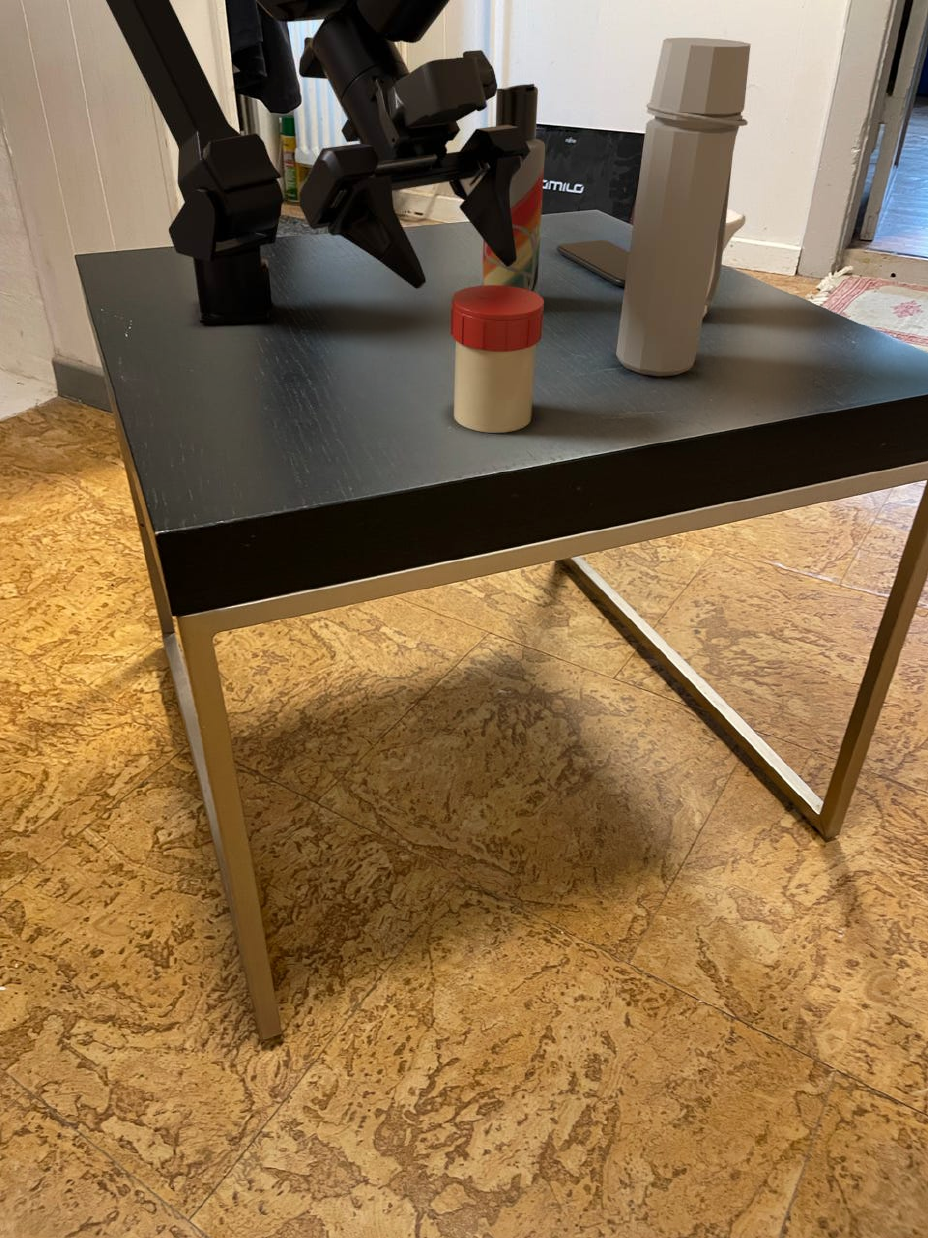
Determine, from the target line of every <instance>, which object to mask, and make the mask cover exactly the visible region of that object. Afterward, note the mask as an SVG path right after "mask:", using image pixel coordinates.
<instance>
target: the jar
mask: <svg viewBox="0 0 928 1238" xmlns="http://www.w3.org/2000/svg"><path fill="white" fill-rule="evenodd" d="M454 343H455V349H454V351H455V352H454V384H453V385H454V388H453V389H454V390H453V417H454V420H455V421H456V422H457V424H459V425H460V426H462V427H464V428H466V429H469V430H473V431H475V432H480V433H487V434H488V433H489V434H502V433H504V434H505V433H509V432H515V431H518V430H521V429H523V428H525V427H526V426H527V425H529V424H530V422H531V420H532V412H533V411H532V410H533V399H534V398H533V397H534V385H535V372H536V359H537V358H536V357H537V348H538V347H537V345H538V343H537V344H535V345H533V346H531V347H529V348H525V349H520V350H516V351H488V350H480V349H475V348H471V347H468V346H465V345H463V344H461V343H459V342H457V341H456V340H455V342H454Z"/></svg>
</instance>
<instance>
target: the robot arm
mask: <svg viewBox="0 0 928 1238" xmlns="http://www.w3.org/2000/svg"><path fill="white" fill-rule="evenodd" d="M450 1H451V0H256V2H257V3H258V4H259V5H260V6H261V8H262V9H263V10H264V11H265V12H266V13H267V14H268V15H269V16H270V17H271V18H272V19H274V20H277V21H278V22H281V23H294V22H295V23H296V22H306V21H307V22H308V21H321V20H322V22H321V23H320V25H319V27H318V29H317V30H316V31H315V33H314V35H313V36H312V37H309V36H307V37H305V38H304V40H303V43H304V44H303V46H304V47H303V51H302V55H301V56H300V59H299V64H298V65H299V66H298V74H299V76H300V77H301V78H306V79H307V78H308V79H321V80H327V82H328V83H329V85H330V87H331V89H332V91H333V93H334V96H335V97H336V99H337V101H338V103H339V105H340V107H341V109H342V111H343V113H344V115H345V117H346V121H345V123H344V125H343V127H342V128H341V133H342V135H343V137H344V139H345V141H346V143H352V144H346V145H337V146H330V147H322V148H321V150H320V152H319V154H318V155H317V157H316V159H315V161H314V164H313V165H312V167H311V169H310V171H309V172H308V174H307V176H306V178H305V180H304V182H303V183H302V186H301V188H300V190H299V193H298V197H299V198H298V199H299V207H300V210H301V212H302V213H303V216H304V218H305V220H306V221H307V223H308V225H309V227H310V228H311V229H313V230H317V229H323V228H327V231H328V233H329V234H330V236H333V237H335V236H340V237H342V238H344V239H345V240H347V241H348V242H350V243H352V244H353V245H355V246H356V247H358V248H359V249H361V250H363V251H364V252H365V253H367V254H369V255H370V256H372V257H373V258H375V259H376V260H377V261H379V262H380V263H381V264H383V266H385V267H387V269H389V270H390V271H392V272H393V273H394V274H395V275H397V276H398V277H399V278H401V279H403V280H404V281H405V282H406V283H408V285H410V286H411V287H413V288H414V289H416V290H418V289H421V288H422V287H423V286H424V285H425V284H426V281H427V279H426V278H427V277H426V276H425V272H424V270H423V267H422V265H421V262H420V260H419V258H418V255H417V254H416V251H415V250H414V248H413V245H412V243H411V241H410V239H409V237H408V235H407V234H406V230H405V229H404V227H403V224H402V223H401V221H400V218H399V216H398V214H397V213H396V210H395V207H394V200H393V199H394V198H393V191H397V190H399V191H401V190H407V189H412V188H420V187H424V186H426V187H427V186H430V185H431V186H432V185H437V184H443V183H448V184H449V186H450V188H451V190H452V191H453V193H454V195H455V196H457V197H458V198H460V199H461V200H463V201H462V203H461V204H460V205H459V209H460V211H461V212H462V213H463V214H464V216H465V217H466V219H467V220H468V221H469V222H470V224H471V225H472V226H473V227H474V229H475V230H476V231H477V233H478V234H479V236H480V237H481V238H482V240H483V239H484V241H485V242H486V243H487V244H488V246H489V247H490V248H491V250H492V251H493V252H494V254H495V255H496V256H497V257H498V258H499V259H500V260H501V261H502V263H503V264H504V265H505V266H506V267H509V266H512V265H513V263H514V262H515V261H516V260H517V255H516V247H515V240H514V232H513V225H512V217H511V209H510V184H511V180H512V177H513V176H514V175H515V174H516V172H517V171H518V170H519V169H520V167H521V163H522V161H523V160H524V159H525V158H526V157H527V155H528V154H529V153H530V149H529V147H528V145H527V143H526V141H525V139H524V137H523V135H522V133H521V131H520V129H519V127H515V126H510V125H502V126H496V125H494V126H487V127H480V128H475V129H474V130H473V132H472V133H471V135H470V136H469V137H468V138H467V140H466V142H465V143H464V144H463V146H462V147H461V148H460V150H459V151H452V152H448V147H447V144H448V142H451V141H454V140H455V138H457V136H458V134H459V133H460V131H461V127H460V126H459V123H458V121H460V120H462V119H463V118H465V117H468V116H470V115H471V114H472V113H474V112H476V111H477V112H481V111H483V110H485V109H486V108H487V107H488V103H487V101H488V100H491V99H492V98H494V97H495V96H496V94H497V89H498V83H497V77H496V72H495V70H494V67H493V65H492V64H491V62H490V61H489V59H488V57H487V56H486V55H485V52H483V50H482V49H479V50H477V49H476V50H465V51H464V52H463V53H462V56H461V57H453V58H439V59H434V60H430V61H427V62H425V63H423V64H421V65H419V66H418V67H416V68H414V69H413V70H412V71H411V72H410V71H409V68H408V66H407V65H406V62H405V60H404V58H403V56H402V55H401V53H400V50H399V48H398V47H397V44H396V43H399V42H404V43H408V44H416V43H418V42H420V41H421V40H422V39H423V37H424V36H425V34H426V33H427V32H428V31H429V29H430V28H431V26H432V25H433V24H434V23H435V21H436V20H437V18H438V17H439V16H440V14H441V13H442V12H443V10H444V9H445V8H446V7H447V6H448V4H449V2H450ZM105 2H106V4H107V6H108V8H109V9H110V12H111V14H112V16H113V18H114V20H115V22H116V24H117V26H118V28H119V30H120V32H121V34H122V36H123V38H124V40H125V42H126V44H127V46H128V48H129V51H130V53H131V54H132V56H133V59H134V60H135V62H136V64H137V67H138V69H139V70H140V71H139V72H140V73H141V75H142V76H143V78H144V81H145V83H146V84H147V86H148V89H149V91H150V93H151V95H152V97H153V99H154V101H155V103H156V105H157V107H158V110H159V111H160V113H161V115H162V118H163V119H164V121H165V123H166V125H167V128H168V130H169V131H170V134H171V135H172V137H173V140H174V141H175V144H176V146H177V149H178V157H177V186H178V188H179V191H180V194H181V197H182V200H183V204H182V206H181V208H180V209H179V211H178V212H177V214H176V216H175V217H174V219H173V220H172V222H171V224H170V226H169V227H168V233H169V237H170V239H171V242H172V244H173V247H174V250H175V252H176V253H177V254H179V255H182V256H186V257H190V258H192V260H193V261H192V262H193V268H194V275H195V283H196V290H197V295H198V296H197V297H198V303H199V311H198V313H199V314H198V320H199V324H203V325H209V324H232V323H233V324H235V323H258V322H268V321H269V311H271V310H272V309H273V300H272V291H271V289H272V288H271V280H270V269H269V261H268V260H267V259H266V258H262V252H261V247H262V246H266V245H273V244H275V243H276V241H277V235H278V228H279V225H280V224H279V223H280V218H281V215H282V208H283V204H284V202H285V199H284V193H283V190H282V186H281V185H280V182H279V181H278V179H281V178H282V175H281V173H280V172H279V171H278V169H276V167H275V165H274V164H273V162H272V160H271V158H270V156H269V153H268V150H267V147H266V144H265V142H264V140H263V138H262V137H261V136H260V135H259V134H258V133H256V132H255V133H254V132H253V133H248V134H243V135H242V134H241V133H239V132H238V131H237V130H236V129H235V128H234V127H233V126H232V125H230V123H229V121H228V120H227V118H226V115H225V114H224V111H223V109H222V107H221V105H220V103H219V101H218V99H217V96H216V94H215V93H214V90H213V89H212V86H211V84H210V82H209V80H208V78H207V76H206V74H205V71H204V69H203V67H202V66H201V63H200V61H199V59H198V57H197V54H196V53H195V51H194V49H193V46H192V44H191V42H190V40H189V38H188V36H187V34H186V31H185V30H184V28H183V25H182V24H181V21H180V19H179V17H178V15H177V13H176V11H175V9H174V6H173V5H172V3H171V0H105ZM353 142H358V143H355V144H353Z"/></svg>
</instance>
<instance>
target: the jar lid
mask: <svg viewBox="0 0 928 1238" xmlns="http://www.w3.org/2000/svg"><path fill="white" fill-rule="evenodd" d="M544 307H545V300H544V298H543V297H542V296H541V295H539V294H538V293H537V294H536V293H534V292H532V291H529V290H526V289H522V288H518V287H512V286H502V285H483V286H482V285H475V286H470V287H466V288H462V289H460V290H458V291H456V292H454V294H453V295H452V296H451V308H450V335H451V337H452V338H453V340H454V341H455V342H456V341H457V342H459V343H461V344H463V345H465V346H468V347H471V348H475V349H480V350H488V351H516V350H520V349H525V348H529V347H531V346H533V345H535V344H537V345H538V343H540V341H541V340H542V336H543V335H542V333H543V322H544V321H543V320H544V310H545V309H544Z"/></svg>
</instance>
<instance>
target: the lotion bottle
mask: <svg viewBox="0 0 928 1238" xmlns="http://www.w3.org/2000/svg"><path fill="white" fill-rule="evenodd" d="M495 96H496V97H495V99H496V100H495V126H502V125H510V126H515V127H519V129H520V131H521V133H522V135H523V137H524V139H525V141H526V143H527V145H528V147H529V149H530V153H529V154H528V155H527V157H526V158H525V159H524V160H523V161H522V163H521V167H520V169H519V170H518V171H517V172H516V174H515V175H514V176H513V177H512V180H511V184H510V209H511V217H512V225H513V232H514V240H515V247H516V255H517V260H516V261H515V262H514V263H513V265H512V266H509V267H506V266H505V265H504V264H503V263H502V261H501V260H500V259H499V258H498V257H497V256H496V255H495V254H494V252H493V251H492V250H491V248H490V247H489V246H488V244H487V243H486V242H485V241H484V239H483V238H482V268H481V269H482V272H481V273H482V277H481V286H483V285H502V286H512V287H518V288H522V289H526V290H529V291H532V292H534V293H536V294H538V283H539V281H538V279H539V265H540V263H539V262H540V247H541V229H542V228H541V227H542V226H541V225H542V214H543V213H542V210H543V193H544V175H545V155H546V144H545V142H544V141H542V140H541V139H537V138H536V137H537V119H538V99H539V89H538V87H537V86H535V83H529V84H518V85H513V86H508V87H505V88H497V91H496V94H495Z"/></svg>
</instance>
